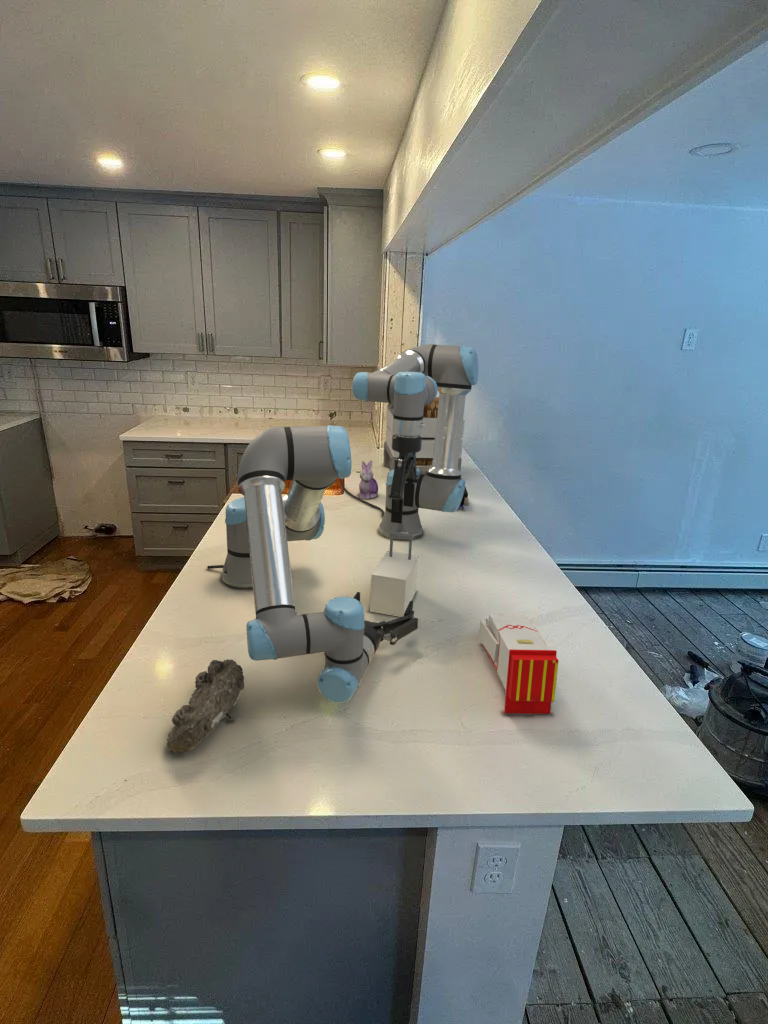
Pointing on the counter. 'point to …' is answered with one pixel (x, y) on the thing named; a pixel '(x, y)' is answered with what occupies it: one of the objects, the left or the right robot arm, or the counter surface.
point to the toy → (521, 662)
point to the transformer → (428, 435)
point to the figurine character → (464, 499)
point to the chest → (392, 594)
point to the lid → (396, 561)
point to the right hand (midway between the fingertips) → (402, 514)
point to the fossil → (206, 705)
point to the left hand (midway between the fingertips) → (384, 601)
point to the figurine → (367, 482)
